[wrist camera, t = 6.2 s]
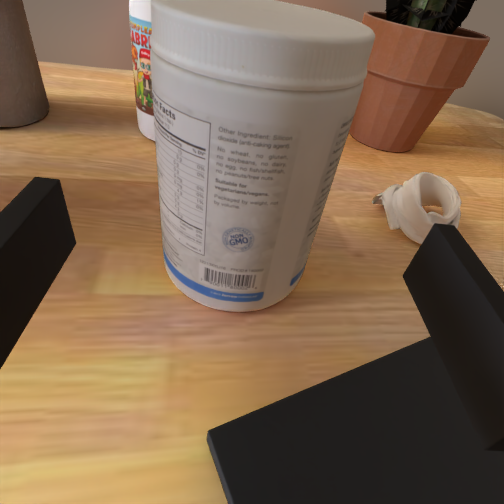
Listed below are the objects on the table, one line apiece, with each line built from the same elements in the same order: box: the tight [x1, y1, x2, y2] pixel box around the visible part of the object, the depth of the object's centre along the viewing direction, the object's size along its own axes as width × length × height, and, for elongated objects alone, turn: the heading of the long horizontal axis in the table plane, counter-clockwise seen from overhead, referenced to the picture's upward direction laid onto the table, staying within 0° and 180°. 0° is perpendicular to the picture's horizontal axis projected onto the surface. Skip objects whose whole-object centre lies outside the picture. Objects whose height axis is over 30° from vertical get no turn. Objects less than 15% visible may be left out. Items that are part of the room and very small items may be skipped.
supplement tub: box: [150, 0, 375, 312], centre depth 19 cm, size 10×10×15 cm
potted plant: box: [349, 0, 490, 152], centre depth 38 cm, size 14×14×25 cm
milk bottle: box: [129, 0, 155, 141], centre depth 32 cm, size 8×8×20 cm
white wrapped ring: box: [372, 172, 461, 244], centre depth 30 cm, size 8×7×5 cm
